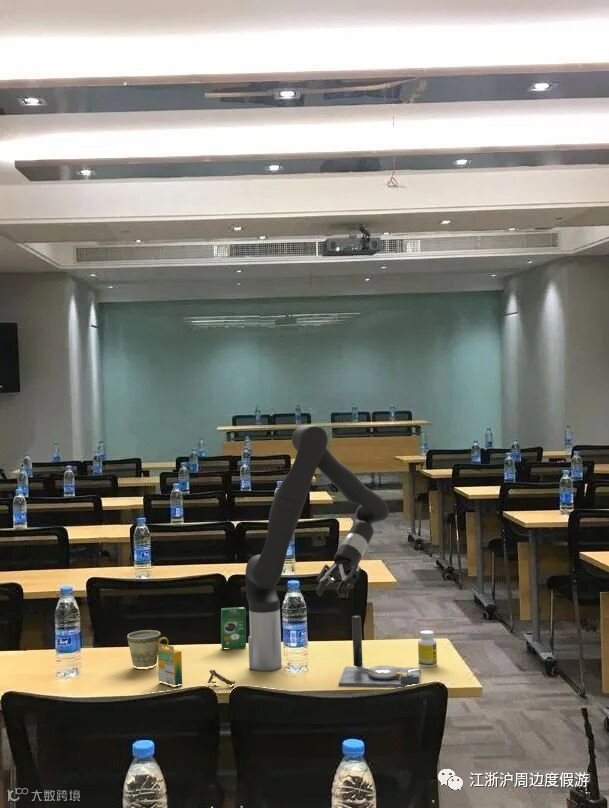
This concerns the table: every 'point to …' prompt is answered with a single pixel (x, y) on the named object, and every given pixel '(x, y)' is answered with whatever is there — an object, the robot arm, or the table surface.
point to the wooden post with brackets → (219, 678)
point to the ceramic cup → (144, 647)
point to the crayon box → (169, 665)
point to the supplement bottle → (427, 649)
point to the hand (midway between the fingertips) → (328, 593)
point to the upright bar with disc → (373, 672)
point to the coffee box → (233, 627)
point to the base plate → (362, 679)
